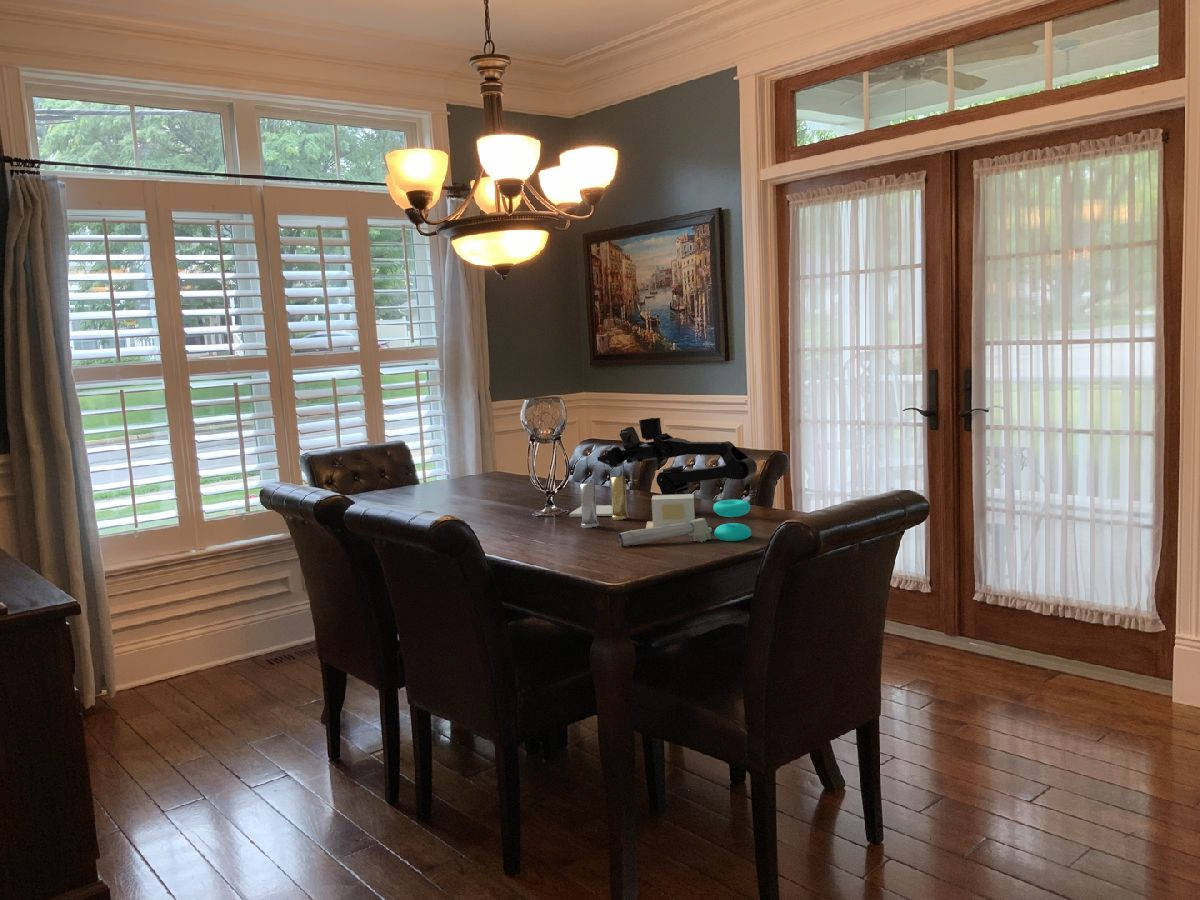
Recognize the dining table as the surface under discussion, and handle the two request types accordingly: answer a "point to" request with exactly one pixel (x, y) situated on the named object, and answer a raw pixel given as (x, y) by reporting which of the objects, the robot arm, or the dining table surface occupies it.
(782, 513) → the dining table surface
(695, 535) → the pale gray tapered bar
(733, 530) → the donuts
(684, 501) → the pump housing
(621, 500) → the cylinder
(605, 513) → the plate
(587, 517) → the cylinder
